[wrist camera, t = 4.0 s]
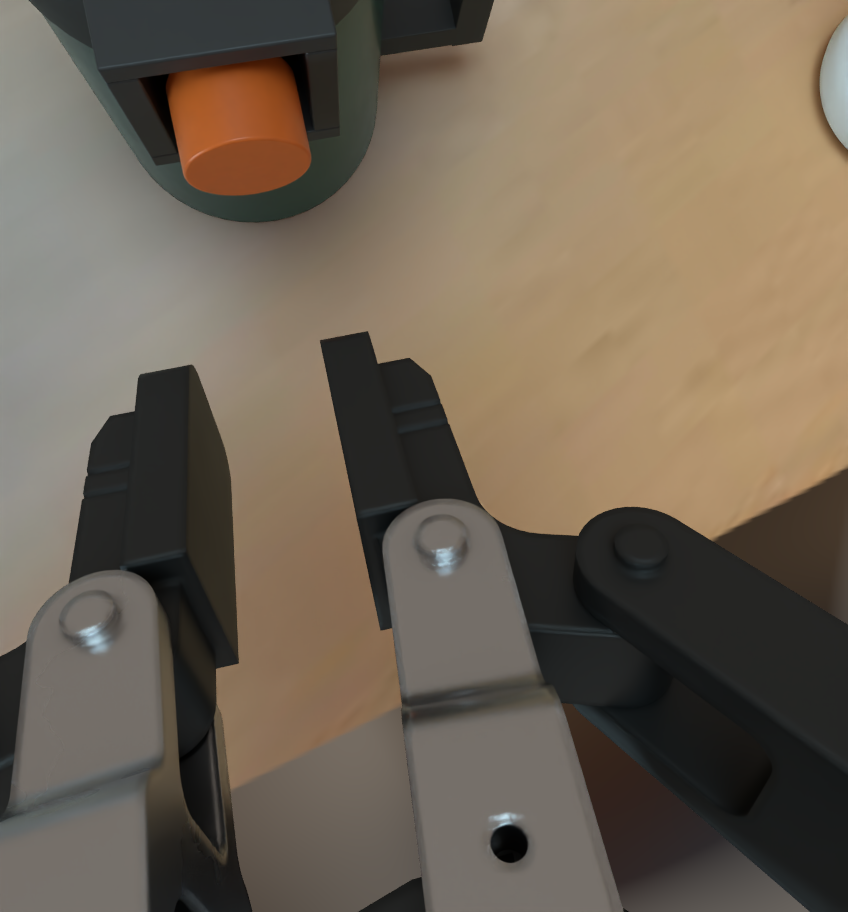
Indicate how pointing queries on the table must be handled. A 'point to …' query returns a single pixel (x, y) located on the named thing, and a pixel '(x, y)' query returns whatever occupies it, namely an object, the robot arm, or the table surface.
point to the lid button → (239, 127)
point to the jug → (249, 39)
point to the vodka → (836, 82)
